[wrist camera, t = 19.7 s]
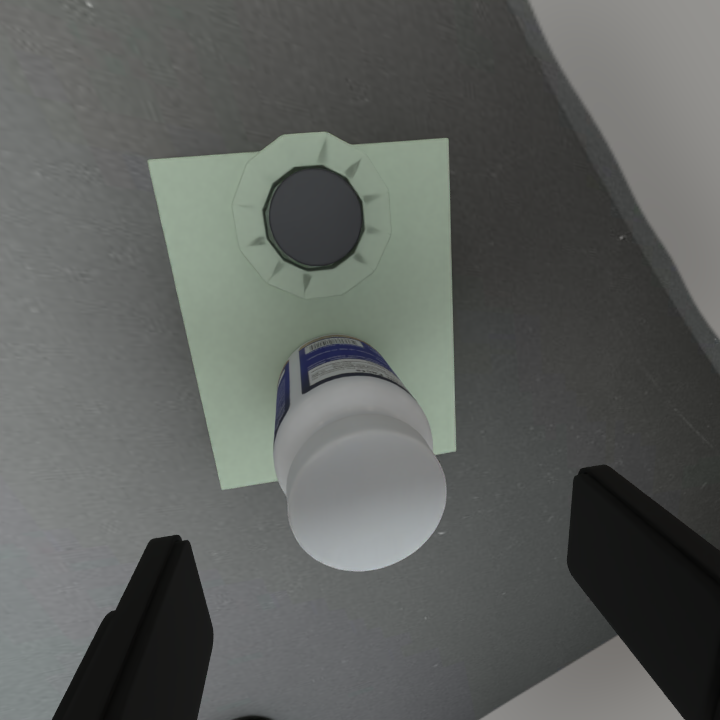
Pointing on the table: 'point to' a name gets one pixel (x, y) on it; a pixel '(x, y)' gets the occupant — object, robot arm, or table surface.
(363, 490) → the pill bottle
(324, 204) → the button
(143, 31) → the table surface
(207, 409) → the scale
